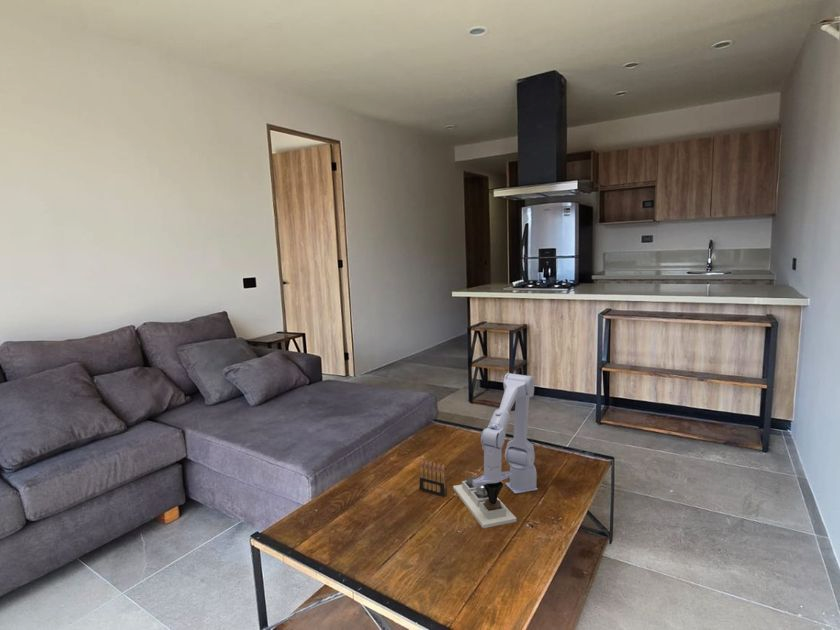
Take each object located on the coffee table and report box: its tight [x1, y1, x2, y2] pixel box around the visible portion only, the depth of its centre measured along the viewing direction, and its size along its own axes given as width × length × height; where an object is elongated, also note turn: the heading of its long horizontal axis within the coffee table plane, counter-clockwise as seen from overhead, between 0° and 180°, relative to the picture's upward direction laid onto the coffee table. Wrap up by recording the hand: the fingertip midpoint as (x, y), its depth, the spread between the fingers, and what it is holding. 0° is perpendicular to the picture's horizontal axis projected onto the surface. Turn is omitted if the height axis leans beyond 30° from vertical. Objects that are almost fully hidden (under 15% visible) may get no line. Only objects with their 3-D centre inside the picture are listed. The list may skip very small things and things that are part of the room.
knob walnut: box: [485, 499, 501, 511], centre depth 157 cm, size 5×5×4 cm
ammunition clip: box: [418, 459, 447, 498], centre depth 173 cm, size 11×2×12 cm, turn 59°
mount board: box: [452, 479, 517, 529], centre depth 165 cm, size 12×27×4 cm, turn 17°
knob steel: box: [476, 485, 488, 498], centre depth 164 cm, size 5×5×4 cm
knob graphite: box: [466, 476, 478, 488], centre depth 172 cm, size 5×5×4 cm
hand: (492, 502), depth 157 cm, fingers closed, pressing on knob walnut
